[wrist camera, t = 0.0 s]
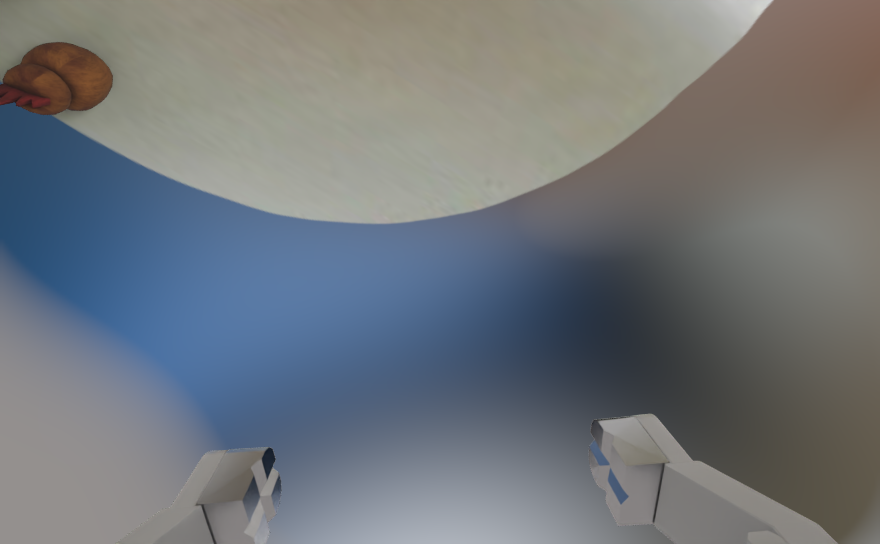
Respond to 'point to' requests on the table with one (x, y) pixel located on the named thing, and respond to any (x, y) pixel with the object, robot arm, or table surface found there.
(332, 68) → the table surface
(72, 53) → the wooden figurine
